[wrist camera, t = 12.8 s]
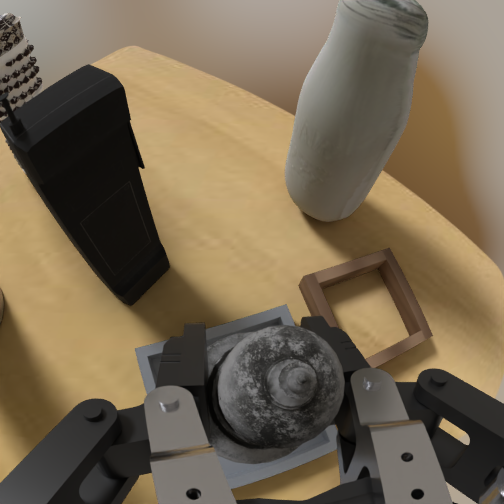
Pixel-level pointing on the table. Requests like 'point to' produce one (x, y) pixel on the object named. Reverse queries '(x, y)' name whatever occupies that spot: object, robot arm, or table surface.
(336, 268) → the walnut collar
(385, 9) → the glass bottle
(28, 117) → the portable radio
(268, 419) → the dark grey chess piece
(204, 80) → the table surface
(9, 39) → the decorative candle
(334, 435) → the grey tray
